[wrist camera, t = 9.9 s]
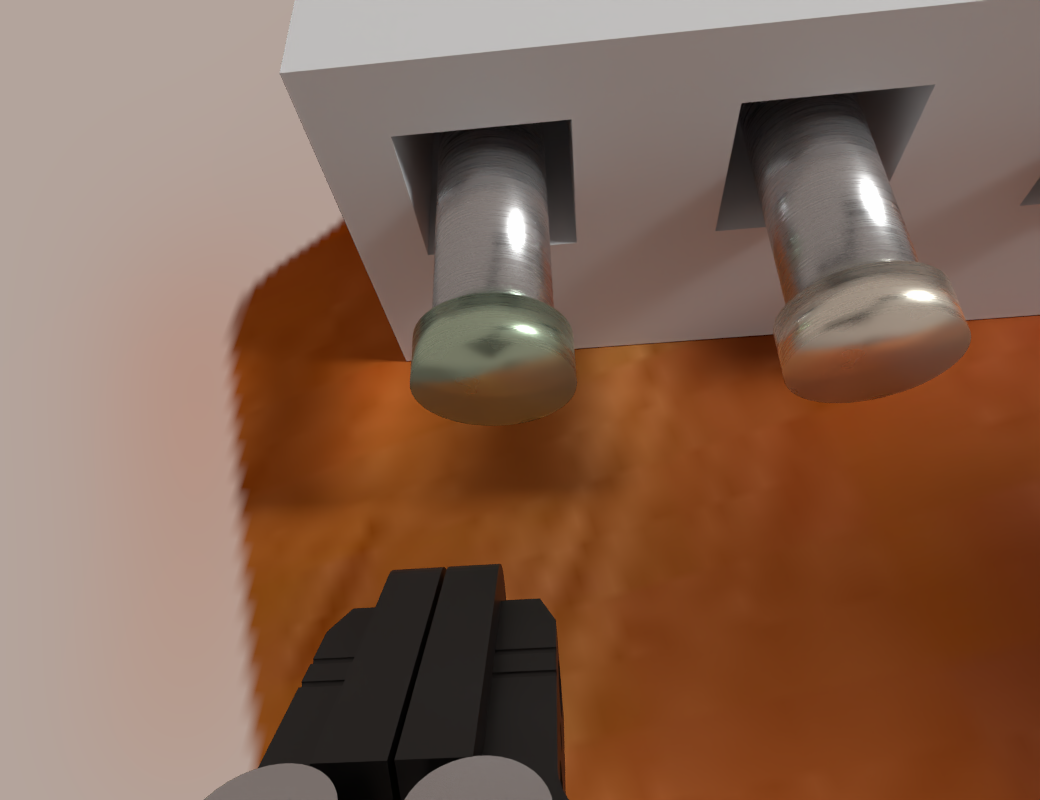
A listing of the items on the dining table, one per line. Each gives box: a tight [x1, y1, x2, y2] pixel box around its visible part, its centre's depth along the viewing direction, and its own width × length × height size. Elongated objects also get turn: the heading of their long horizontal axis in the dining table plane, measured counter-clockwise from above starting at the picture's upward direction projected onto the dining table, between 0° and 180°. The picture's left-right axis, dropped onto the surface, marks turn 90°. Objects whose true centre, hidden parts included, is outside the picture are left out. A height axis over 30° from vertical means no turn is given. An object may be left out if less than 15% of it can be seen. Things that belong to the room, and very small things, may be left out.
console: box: [280, 0, 1040, 361], centre depth 22 cm, size 12×24×12 cm, turn 92°
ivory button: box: [739, 92, 971, 403], centre depth 17 cm, size 9×4×4 cm, turn 2°
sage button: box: [410, 122, 577, 426], centre depth 18 cm, size 9×4×4 cm, turn 2°
